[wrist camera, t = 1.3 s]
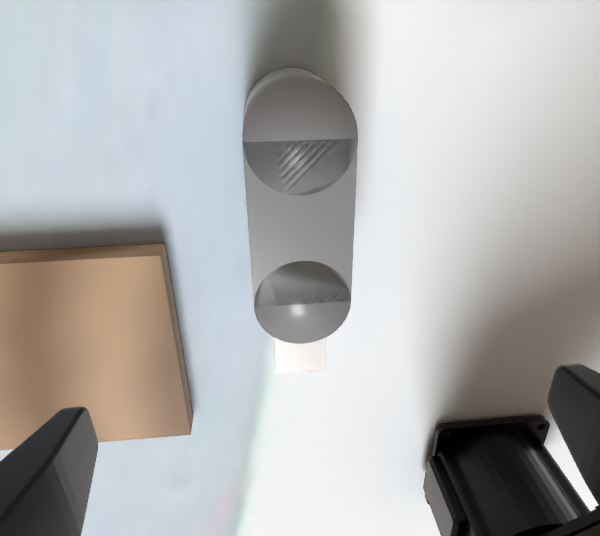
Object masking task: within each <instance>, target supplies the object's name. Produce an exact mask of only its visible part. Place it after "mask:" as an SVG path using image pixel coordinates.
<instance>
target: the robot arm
mask: <svg viewBox="0 0 600 536" xmlns="http://www.w3.org/2000/svg"><path fill="white" fill-rule="evenodd" d="M547 401H548V406H549V409H550V412H551V414H552V416H553V418H554V420H555V422H556V424H557V426H558V428H559V430H560V432H561V434H562V436H563V438H564V441H565V443H566V445H567V447H568V449H569V451H570V453H571V455H572V457H573V459H574V461H575V463H576V465H577V467H578V469H579V471H580V473H581V475H582V477H583V479H584V481H585V483H586V484H587V486H588V488H589V489H590V491H591V493H592V495H593V496H594V498H595V500H596V501H597V503H598V504H599V505H598V506H596V507H595V508H596V509H595V510H593V511H590V510H589V509H588V507H587V506H586V504H585V503H584V502H583V500H582V499H581V497H580V496H579V494H578V493H577V492H576V490H575V489H574V487H573V486H572V484H571V483H570V481H569V480H568V479H567V477H566V476H565V474H564V473H563V471H562V470H561V469H560V467H559V466H558V464H557V463H556V461H555V460H554V459H553V457H552V456H551V454H550V453H549V451H548V450H547V448H546V447H545V446H544V442H545V439H546V436H547V433H548V429H549V425H550V424H549V422H548V421H547V420H546V418H545V417H544V416H541V415H538V416H526V417H514V418H502V419H490V420H478V421H466V422H453V423H444V424H441V425H439V426H438V427H437V428H436V430H435V436H434V442H433V448H432V454H431V456H430V457H429V459H428V460H427V467H426V473H425V479H424V485H423V488H424V491H425V498H426V501H427V503H428V504H429V505H430V507H431V510H432V512H433V515H434V518H435V520H436V523H437V526H438V529H439V531H440V534H441V536H600V373H598V372H596V371H594V370H592V369H590V368H588V367H586V366H584V365H581V364H568V365H560V366H558V367H557V368H556V369H555V372H554V375H553V379H552V382H551V386H550V389H549V393H548V400H547ZM97 451H98V439H97V435H96V432H95V429H94V426H93V423H92V419H91V416H90V413H89V411H88V409H87V408H86V407H82V406H81V407H70V408H63V409H61V410H60V411H58V412H57V413H56V414H55V415H54V416H52V417H51V418H50V419H49V420H48V421H47V422H45V423H44V424H43V425H42V426H41V427H40V428H39V429H37V430H36V431H35V432H34V433H33V434H32V435H30V436H29V437H28V438H27V439H26V440H25V441H23V442H22V443H21V444H20V445H19V446H18V447H16V448H15V449H14V450H13V451H12V452H11V453H10V454H8V455H7V456H6V457H5V458H4V459H3V460H1V461H0V536H81V532H82V528H83V523H84V518H85V513H86V508H87V503H88V498H89V493H90V488H91V482H92V477H93V472H94V467H95V462H96V457H97Z"/></svg>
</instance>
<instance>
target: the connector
mask: <svg viewBox="0 0 600 536" xmlns="http://www.w3.org/2000/svg"><path fill="white" fill-rule="evenodd" d="M357 141H358V133H357V124H356V120H355V117H354V114H353V112H352V110H351V108H350V106H349V104H348V103H347V101H346V100H345V99H344V98H343V96H342V95H341V94H339V93H338V92H337V91H336V90H335V89H334V88H332V87H331V86H330V85H328V84H327V83H326V82H325V81H323V80H322V79H321V78H319V77H318V76H317V75H315V74H314V73H312V72H310V71H308V70H305V69H301V68H296V67H286V68H280V69H277V70H274V71H272V72H270V73H268V74H266V75H265V76H263V77H262V78H261V79H260V80H259V81H258V82H257V83H256V84H255V85H254V87H253V88H252V90H251V91H250V93H249V95H248V98H247V100H246V104H245V110H244V121H243V156H244V170H245V184H246V198H247V212H248V227H249V241H250V255H251V269H252V283H253V298H254V309H255V314H256V317H257V320H258V322H259V323H260V325H261V326H262V328H263V329H264V330H265V331H266V332H267V333H269V334H270V335H271V336H273V337H274V354H275V368H276V374H283V373H296V372H310V371H324V370H326V338H327V336H329V335H330V334H332V333H333V332H335V331H336V330H337V329H338V328H339V327H340V326H341V325H342V323H343V322H344V320H345V319H346V317H347V315H348V312H349V309H350V304H351V285H352V261H353V237H354V213H355V189H356V165H357Z"/></svg>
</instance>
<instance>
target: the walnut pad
mask: <svg viewBox="0 0 600 536" xmlns="http://www.w3.org/2000/svg"><path fill="white" fill-rule="evenodd" d="M81 406H82V407H86V408H87V409H88V411H89V413H90V416H91V419H92V423H93V426H94V429H95V432H96V435H97V439H98V442H107V441H119V440H131V439H144V438H156V437H168V436H181V435H191V428H192V421H193V413H192V407H191V401H190V395H189V388H188V382H187V376H186V370H185V364H184V357H183V351H182V345H181V339H180V333H179V327H178V320H177V314H176V308H175V302H174V296H173V289H172V283H171V277H170V271H169V265H168V259H167V252H166V246H165V243H162V244H142V245H123V246H103V247H83V248H64V249H44V250H25V251H5V252H0V450H9V449H15V448H16V447H18V446H19V445H20V444H21V443H22V442H23V441H25V440H26V439H27V438H28V437H29V436H30V435H32V434H33V433H34V432H35V431H36V430H37V429H39V428H40V427H41V426H42V425H43V424H44V423H45V422H47V421H48V420H49V419H50V418H51V417H52V416H54V415H55V414H56V413H57V412H58V411H60V410H61V409H63V408H70V407H81Z"/></svg>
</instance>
